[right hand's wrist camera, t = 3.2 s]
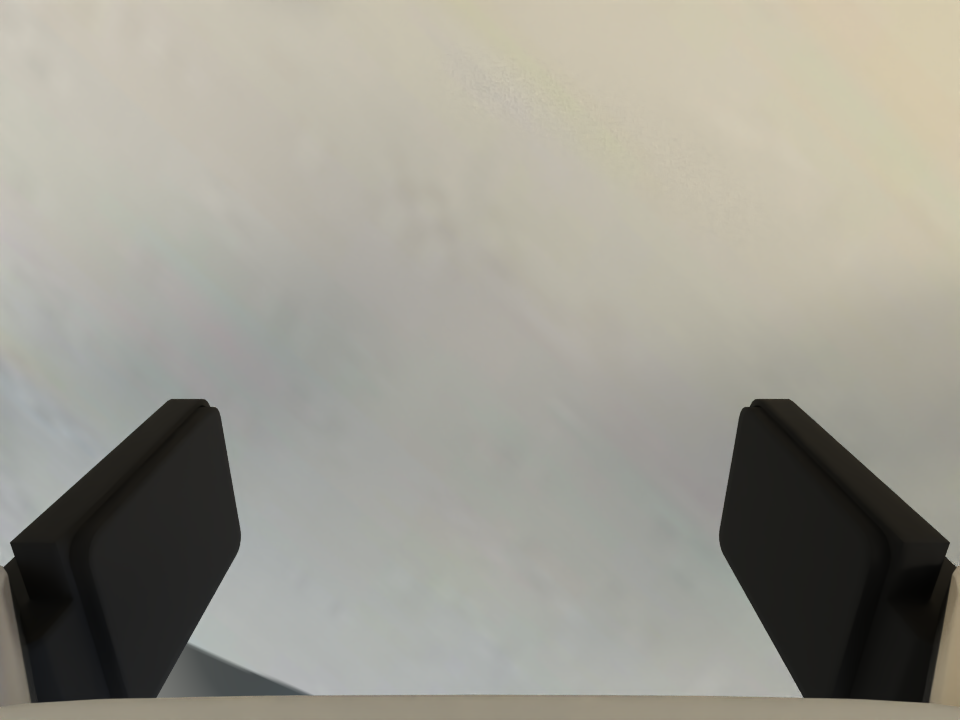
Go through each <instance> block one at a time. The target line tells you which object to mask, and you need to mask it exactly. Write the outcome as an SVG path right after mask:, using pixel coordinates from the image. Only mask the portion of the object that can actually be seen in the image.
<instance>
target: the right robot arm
mask: <svg viewBox="0 0 960 720" xmlns="http://www.w3.org/2000/svg"><path fill="white" fill-rule="evenodd" d="M240 541H241V531H240V525H239V519H238V513H237V508H236V502H235V496H234V491H233V485H232V479H231V473H230V468H229V462H228V456H227V451H226V445H225V439H224V433H223V428H222V422H221V416H220V413H219V411H218V409H217V408H216V407H210V405H209V403H208V402H207V401H206V400H205V399H170V400H169V401H167V402H166V403H165V404H164V405H163V406H162V407H160V408H159V409H158V410H157V411H156V412H155V413H154V414H153V415H151V416H150V417H149V418H148V419H147V420H146V421H145V422H144V423H143V424H141V425H140V426H139V427H138V428H137V429H136V430H135V431H134V432H133V433H131V434H130V435H129V436H128V437H127V438H126V439H125V440H124V441H123V442H121V443H120V444H119V445H118V446H117V447H116V448H115V449H114V450H113V451H111V452H110V453H109V454H108V455H107V456H106V457H105V458H104V459H102V460H101V461H100V462H99V463H98V464H97V465H96V466H95V467H94V468H92V469H91V470H90V471H89V472H88V473H87V474H86V475H85V476H84V477H82V478H81V479H80V480H79V481H78V482H77V483H76V484H75V485H74V486H72V487H71V488H70V489H69V490H68V491H67V492H66V493H65V494H64V495H62V496H61V497H60V498H59V499H58V500H57V501H56V502H55V503H54V504H52V505H51V506H50V507H49V508H48V509H47V510H46V511H45V512H43V513H42V514H41V515H40V516H39V517H38V518H37V519H36V520H35V521H33V522H32V523H31V524H30V525H29V526H28V527H27V528H26V529H25V530H23V531H22V532H21V533H20V534H19V535H18V536H17V537H16V538H15V539H13V540H12V541H11V542H10V544H11V547H12V550H13V553H14V556H15V557H14V558H13V559H12V560H11V561H10V562H9V563H8V564H6V565H5V566H4V567H3V566H0V720H960V566H957V567H956V566H955V565H954V564H952V563H951V562H950V561H949V560H948V559H947V558H946V557H945V556H946V553H947V550H948V547H949V544H950V542H949V541H948V540H947V539H945V538H944V537H943V536H942V535H941V534H940V533H939V532H938V531H937V530H935V529H934V528H933V527H932V526H931V525H930V524H929V523H928V522H927V521H925V520H924V519H923V518H922V517H921V516H920V515H919V514H918V513H917V512H915V511H914V510H913V509H912V508H911V507H910V506H909V505H908V504H906V503H905V502H904V501H903V500H902V499H901V498H900V497H899V496H898V495H896V494H895V493H894V492H893V491H892V490H891V489H890V488H889V487H888V486H886V485H885V484H884V483H883V482H882V481H881V480H880V479H879V478H878V477H876V476H875V475H874V474H873V473H872V472H871V471H870V470H869V469H868V468H866V467H865V466H864V465H863V464H862V463H861V462H860V461H859V460H857V459H856V458H855V457H854V456H853V455H852V454H851V453H850V452H849V451H847V450H846V449H845V448H844V447H843V446H842V445H841V444H840V443H839V442H837V441H836V440H835V439H834V438H833V437H832V436H831V435H830V434H829V433H827V432H826V431H825V430H824V429H823V428H822V427H821V426H820V425H819V424H817V423H816V422H815V421H814V420H813V419H812V418H811V417H810V416H809V415H807V414H806V413H805V412H804V411H803V410H802V409H801V408H800V407H798V406H797V405H796V404H795V403H794V402H793V401H791V400H790V399H755V400H754V401H753V402H752V403H751V405H750V407H744V408H743V409H742V411H741V413H740V416H739V422H738V428H737V433H736V439H735V445H734V450H733V456H732V462H731V468H730V473H729V479H728V485H727V491H726V496H725V502H724V508H723V513H722V519H721V525H720V531H719V541H720V547H721V550H722V552H723V555H724V556H725V558H726V560H727V562H728V564H729V565H730V567H731V569H732V571H733V572H734V574H735V576H736V578H737V580H738V581H739V583H740V585H741V587H742V588H743V590H744V592H745V594H746V596H747V597H748V599H749V601H750V603H751V605H752V606H753V608H754V610H755V612H756V613H757V615H758V617H759V619H760V621H761V622H762V624H763V626H764V628H765V629H766V631H767V633H768V635H769V637H770V638H771V640H772V642H773V644H774V646H775V647H776V649H777V651H778V653H779V654H780V656H781V658H782V660H783V662H784V663H785V665H786V667H787V669H788V671H789V672H790V674H791V676H792V678H793V679H794V681H795V683H796V685H797V687H798V688H799V690H800V692H801V694H802V695H803V697H804V698H779V697H729V696H622V695H338V696H232V697H181V698H156V697H157V695H158V694H159V692H160V690H161V688H162V686H163V685H164V683H165V681H166V679H167V678H168V676H169V674H170V672H171V671H172V669H173V667H174V665H175V663H176V662H177V660H178V658H179V656H180V654H181V653H182V651H183V649H184V647H185V646H186V644H187V642H188V640H189V638H190V637H191V635H192V633H193V631H194V629H195V628H196V626H197V624H198V622H199V621H200V619H201V617H202V615H203V613H204V612H205V610H206V608H207V606H208V605H209V603H210V601H211V599H212V597H213V596H214V594H215V592H216V590H217V588H218V587H219V585H220V583H221V581H222V580H223V578H224V576H225V574H226V572H227V571H228V569H229V567H230V565H231V564H232V562H233V560H234V558H235V556H236V555H237V552H238V550H239V547H240Z"/></svg>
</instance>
